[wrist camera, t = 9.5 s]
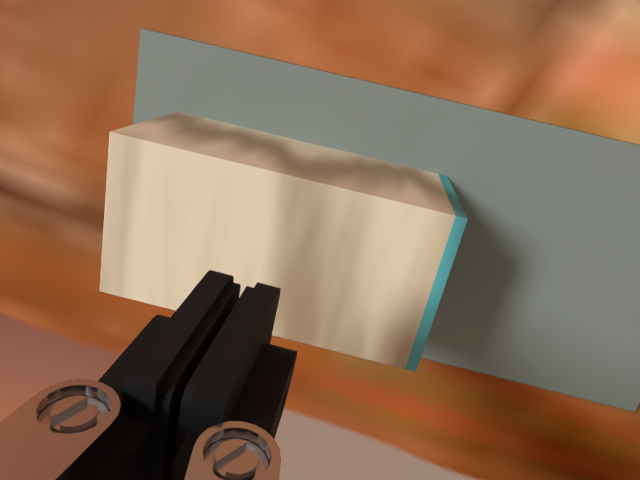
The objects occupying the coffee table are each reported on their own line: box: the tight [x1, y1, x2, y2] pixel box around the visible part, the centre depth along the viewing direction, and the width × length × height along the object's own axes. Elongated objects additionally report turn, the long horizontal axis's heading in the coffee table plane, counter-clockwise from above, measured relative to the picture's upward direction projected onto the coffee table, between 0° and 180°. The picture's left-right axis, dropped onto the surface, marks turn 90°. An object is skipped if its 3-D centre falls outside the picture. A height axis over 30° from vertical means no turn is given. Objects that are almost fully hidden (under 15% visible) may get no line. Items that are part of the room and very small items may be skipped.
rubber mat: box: [133, 29, 640, 412], centre depth 23 cm, size 26×12×1 cm, turn 78°
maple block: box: [100, 111, 468, 372], centre depth 21 cm, size 6×6×12 cm
